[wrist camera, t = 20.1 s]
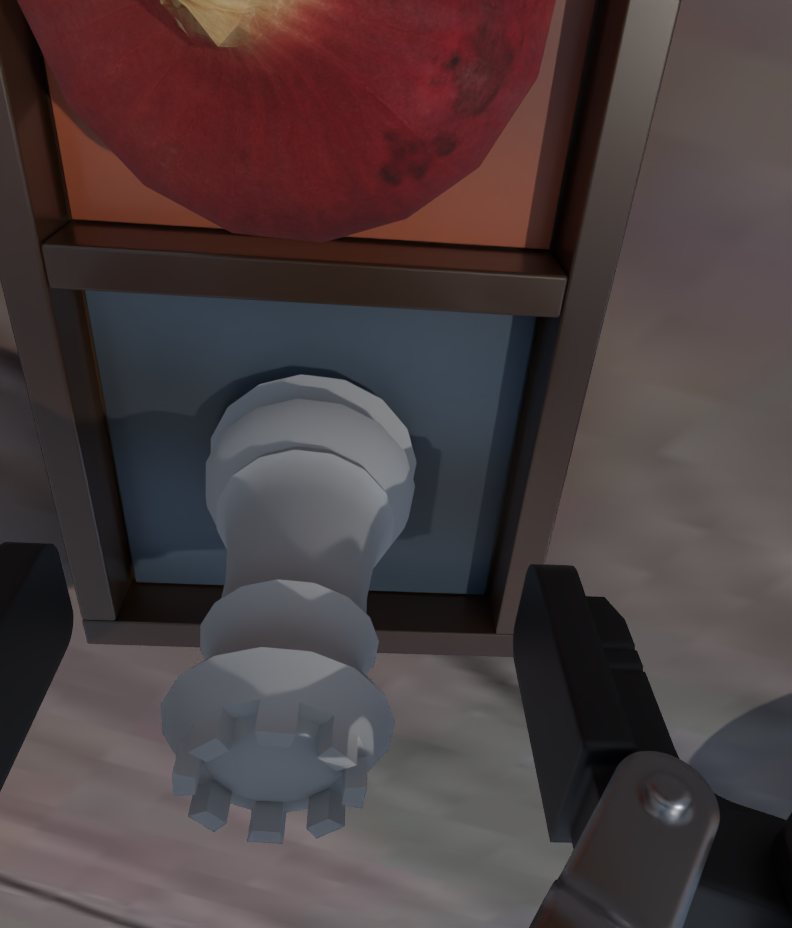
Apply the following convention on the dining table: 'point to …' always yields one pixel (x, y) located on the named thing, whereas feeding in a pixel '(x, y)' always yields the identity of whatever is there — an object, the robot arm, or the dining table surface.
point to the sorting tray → (324, 339)
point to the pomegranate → (295, 99)
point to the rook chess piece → (292, 608)
